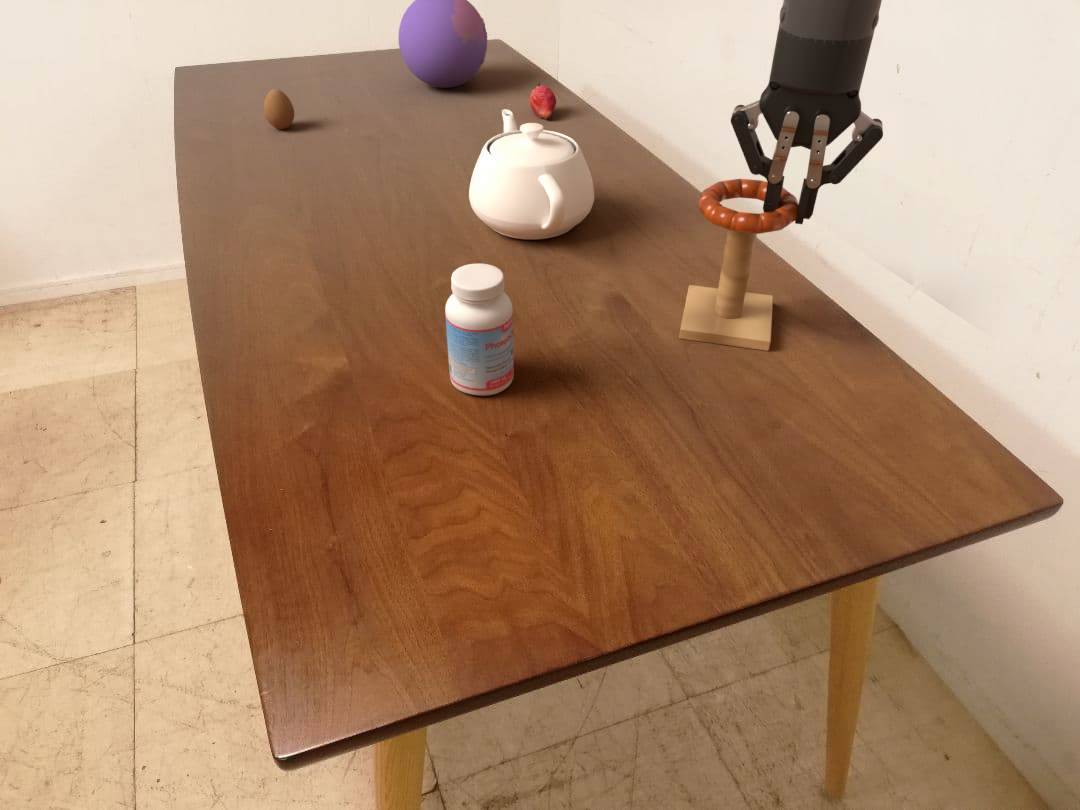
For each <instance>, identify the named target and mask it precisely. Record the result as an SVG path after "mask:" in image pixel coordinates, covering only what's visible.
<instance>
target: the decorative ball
mask: <svg viewBox="0 0 1080 810" xmlns="http://www.w3.org/2000/svg"><path fill="white" fill-rule="evenodd" d="M398 47H399V51H400V55H401V57H402V60H403V62H404V63H405V65H406V67H407V68H408V70H409V71H410V73H412V75H414V77H416V78H417V79H419V80H420V81H421V82H423V83H424V84H427V85H429V86H431V87H436V88H440V89H441V88H442V89H449V88H455V87H458V86H461V85H464V84H465V83H467V82H469V81H470V80H471V79H472V78H473V77H474V76H475V75H477V73H478V72H479V71H480V69H481V67H482V65H483V64H484V63H485V59H486V54H487V51H488V32H487V28H486V23H485V20H484V18H483V17H482V15H481V14H480V12H479V11H478V10H477V8H476V7H475V6H474V5H473V4H472V3H471V2H470V1H468V0H414V1H413V2H412V3H410V5H409V6H408V8H407V9H406V10H405V12H404V14H403V16H402V17H401V21H400V24H399V27H398Z"/></svg>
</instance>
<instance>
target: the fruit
mask: <svg viewBox="0 0 1080 810" xmlns="http://www.w3.org/2000/svg"><path fill="white" fill-rule="evenodd" d="M556 105H557V98H556V95H555V93H554V92H553V90H552V89H551V88H550V87H549V86H546V85H542V84H541V80H539V81H538V82H537V86H536V88H534V89H532V91H531V93H530V96H529V106H530V108H531V110H532V112H533V113H534V114H535V116H538V118H540V119H543V120H545V121H546V120H548V119H550V118H551V116H552V114H553V111H554V109H555V108H556Z"/></svg>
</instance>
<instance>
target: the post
mask: <svg viewBox="0 0 1080 810" xmlns="http://www.w3.org/2000/svg"><path fill="white" fill-rule="evenodd" d="M757 235H758V234H754V233H743V232H734V231H731V230H728V229H727V233H726V238H725V244H724V250H723V257H722V262H721V269H720V274H719V280H718V287H709V286H702V285H695V284H694V285H693V284H689V285H688V289H687V294H686V298H685V304H684V307H683V313H682V318H681V323H680V329H679V336H678V339H680V340H688V341H695V342H701V343H709V344H716V345H722V346H731V347H738V348H743V349H744V348H745V349H751V350H758V351H765V352H769V351H770V347H771V343H772V325H773V323H772V322H773V306H774V305H773V304H774V303H773V302H774V296H773V295H771V294H762V293H756V292H747V287H748V282H749V278H750V272H751V266H752V261H753V257H754V251H755V246H756V241H757Z"/></svg>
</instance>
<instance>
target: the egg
mask: <svg viewBox="0 0 1080 810" xmlns="http://www.w3.org/2000/svg"><path fill="white" fill-rule="evenodd" d="M263 114H264V117H265V120H266V121H267V122H268V124H270V126H272V127H273V128H275V129H277V130H284V129H285V130H286V129H288V128H289V127H290V126H291V125H292V124H293V121H294V120H295V108H294V106H293V103H292V101H291V100H290V97H288V95H287V94H286V93H285V92H283V90H280V89H278V88H273V89H270V91H268V93H266V96H265V99H264V102H263Z"/></svg>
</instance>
